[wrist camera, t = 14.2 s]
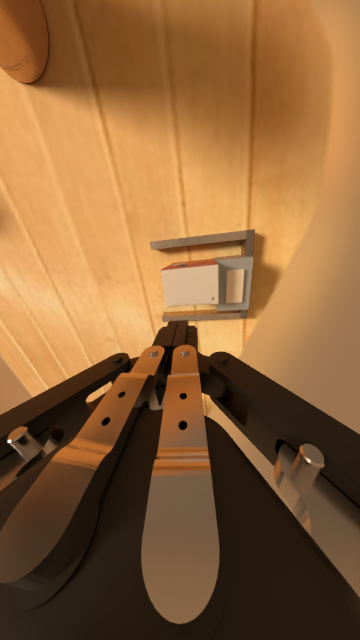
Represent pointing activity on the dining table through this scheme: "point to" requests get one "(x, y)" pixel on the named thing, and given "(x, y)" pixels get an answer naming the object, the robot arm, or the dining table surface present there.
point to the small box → (191, 283)
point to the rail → (245, 236)
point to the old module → (234, 282)
